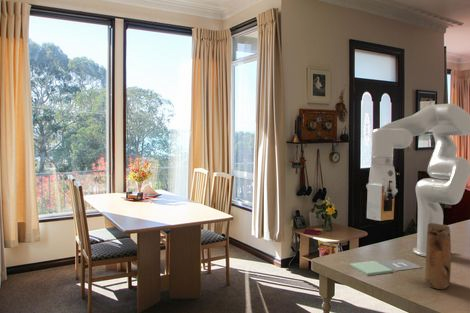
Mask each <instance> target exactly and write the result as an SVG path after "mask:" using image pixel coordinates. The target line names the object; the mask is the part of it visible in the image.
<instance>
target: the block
mask: <svg viewBox="0 0 470 313" xmlns="http://www.w3.org/2000/svg"><path fill="white" fill-rule="evenodd" d="M451 240H452V239H451V228H450V226H449V225H448V224H443V225H441V224H437V223H429V224H428V228H427V246H426V258H425V275H424V276H425V283H426V284H427V285H428V287H431V288H434V289H437V290H445V289H446V288H449V286H450V281H451V270H452V269H451V268H452V262H451V261H452V252H451V251H452V250H451V248H452V244H451Z"/></svg>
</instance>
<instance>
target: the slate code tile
mask: <svg viewBox="0 0 470 313" xmlns="http://www.w3.org/2000/svg"><path fill="white" fill-rule="evenodd" d="M378 263H380V264H382V265H384V266H386V267H388V268H390V269H392V270H393V272H399V271H407V270H415V269H422V268H423V267H422V266H420V265H418V264H416V263H413V262H411V261H408V260H406V259H404V258H403V259H402V258H401V259H393V260H385V261H378Z"/></svg>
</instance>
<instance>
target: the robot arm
mask: <svg viewBox="0 0 470 313" xmlns="http://www.w3.org/2000/svg"><path fill="white" fill-rule="evenodd" d="M430 130H431V132H432V136H433V138H434V143H435V145H434V149H433V152H432V155H431V157H430V160H429V162H428V165H427V174H428V175H429V177H430V178H429V177H427V178H422V179H420V180H419V181H417V182H416V185H415V194H416V202H417V235H416V236H417V237H416V238H417V240H416V241H417V243H416V246H415V247H413V249H412V252H413V253H414V254H415V255H417V256H420V257H426V246H427V228H428V224H429V223H437V224H441V225H444V211H443V208H442V206H441V205H440V204H445V205H456V204H458V203H460V202H461V200H462V199H463V195H464V193H465V189H466V187H467V185H468V181H469V178H470V161H469V160H468V159H466V157H462V156H461V157H460V156H456V155H457V153H458V146H457V145H456V143H455V141H454V140H453V138H452V137H451V136H469V135H470V113H469V112H467V111H466V110H465V109H463V107H461V106H459V105H457V104H454V103H440V104H431V105H430V104H429V105H426V107H424V108H422V109H421V110H419V111H417V112H416V113H414V114H412V115H410V116H405V117H404V118H400V119H397V120H395V121H392V122H388V123H387V124H385V125H382V126H381V127H380V128H379V127H378V128H375V129H373V130H372V132H371V155H370V156H371V159H370V160H371V162H370V169H369V176H368V183H366V185H365V187H366V189H367V191H368V184H377V185H382V186H383V192H384V193H385V196H384V197H385V200H384V211H392V200H394V201H395V197H396V195H397V193H398V191H399V190H398V188H396V187H397V184H396V183H397V181H396V171H395V166H394V163H393V162H394V149H405V148H408V147H409V146H411V144H413V140H414V137H416V136H422V135H424V134H425V133H426V132H428V131H430ZM387 190H389V191H387ZM391 190H392V191H391ZM387 194H389V195H387Z"/></svg>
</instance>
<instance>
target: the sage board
mask: <svg viewBox="0 0 470 313" xmlns="http://www.w3.org/2000/svg"><path fill="white" fill-rule="evenodd" d="M378 262H379V261H378ZM378 262H377V261H375V260H370V261H361V262H353V263H349V267H351V268H353V269H355V270H357V271H359V272H360V273H362V274H363V275H365V276H373V275H382V274H389V273H393V272H394V270H392V269H390V268H388V267H386V266H384V265H382V264H380V263H378Z"/></svg>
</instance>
